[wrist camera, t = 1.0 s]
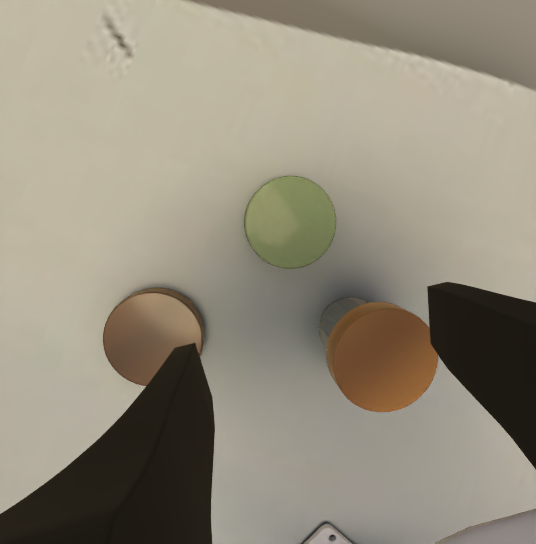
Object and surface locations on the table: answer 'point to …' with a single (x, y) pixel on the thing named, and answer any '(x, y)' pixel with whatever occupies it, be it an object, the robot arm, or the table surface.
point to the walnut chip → (150, 332)
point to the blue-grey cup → (336, 315)
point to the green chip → (290, 222)
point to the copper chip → (381, 356)
